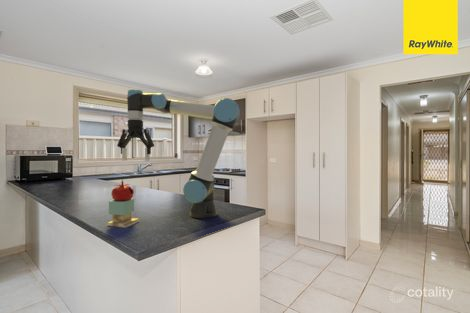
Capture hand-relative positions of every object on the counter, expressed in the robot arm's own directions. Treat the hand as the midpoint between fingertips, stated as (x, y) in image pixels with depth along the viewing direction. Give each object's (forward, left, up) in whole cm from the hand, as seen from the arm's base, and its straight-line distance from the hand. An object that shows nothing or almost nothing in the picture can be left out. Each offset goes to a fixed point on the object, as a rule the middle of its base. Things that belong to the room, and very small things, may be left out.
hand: (135, 160), depth 129 cm
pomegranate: (0, +10, -19) cm, 21 cm away
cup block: (+1, +10, -25) cm, 27 cm away
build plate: (0, +9, -31) cm, 32 cm away
